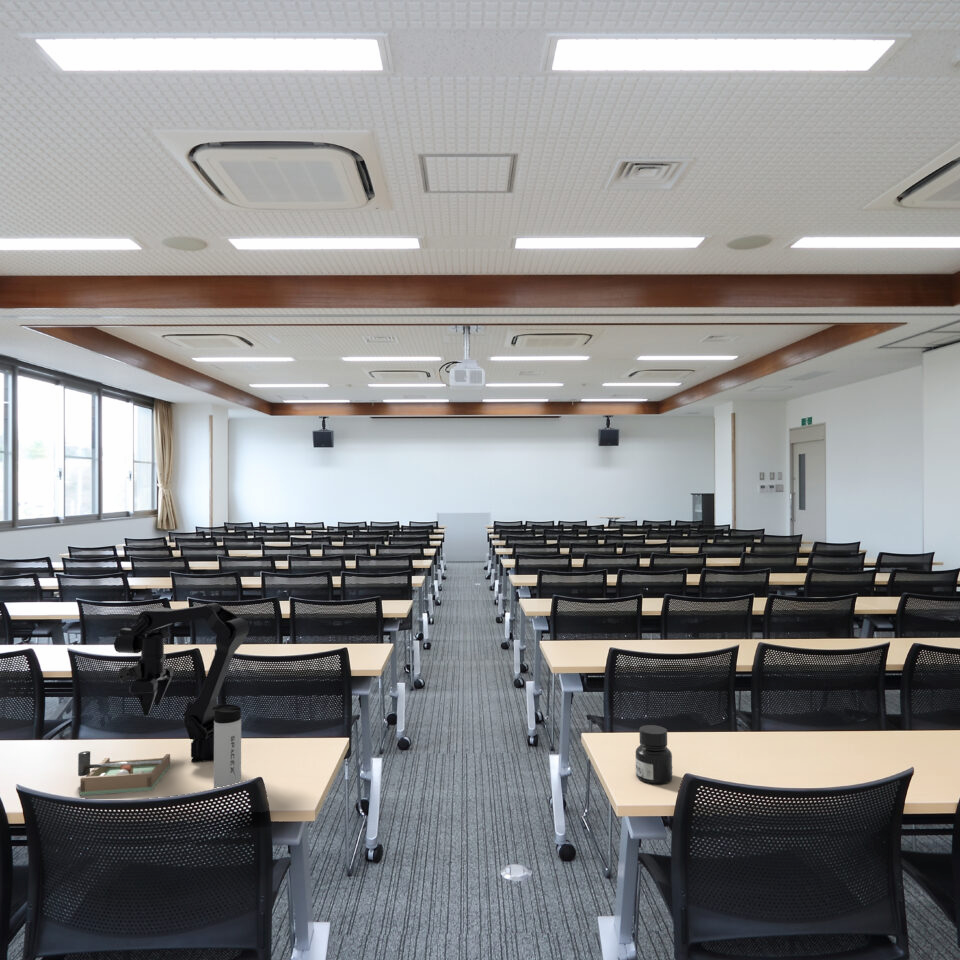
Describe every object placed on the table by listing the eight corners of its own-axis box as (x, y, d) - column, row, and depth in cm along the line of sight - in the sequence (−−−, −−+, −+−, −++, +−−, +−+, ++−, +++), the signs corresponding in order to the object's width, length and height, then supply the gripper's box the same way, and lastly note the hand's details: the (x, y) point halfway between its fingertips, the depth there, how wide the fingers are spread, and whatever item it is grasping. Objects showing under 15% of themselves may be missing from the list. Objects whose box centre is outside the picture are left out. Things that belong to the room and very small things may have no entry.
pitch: (170, 766, 178) (170, 751, 178) (151, 790, 163) (151, 773, 163) (105, 770, 175) (105, 755, 175) (80, 795, 160) (80, 778, 161)
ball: (128, 767, 165) (125, 781, 164) (132, 770, 168) (129, 784, 166) (114, 768, 165) (111, 782, 163) (118, 771, 167) (115, 785, 166)
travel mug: (216, 783, 166) (217, 702, 167) (243, 782, 167) (244, 701, 168) (208, 794, 160) (209, 710, 161) (237, 793, 161) (237, 709, 161)
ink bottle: (630, 770, 172) (630, 723, 173) (664, 769, 173) (663, 722, 173) (642, 786, 163) (642, 736, 163) (678, 785, 163) (677, 735, 164)
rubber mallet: (162, 772, 171) (163, 746, 171) (159, 776, 169) (159, 750, 169) (80, 777, 168) (81, 751, 168) (76, 781, 166) (76, 755, 166)
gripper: (133, 648, 196) (133, 701, 196) (108, 662, 178) (108, 722, 177) (174, 646, 198) (173, 699, 197) (153, 661, 180) (152, 719, 179)
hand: (152, 709), depth 188 cm, fingers open, 9 cm apart
